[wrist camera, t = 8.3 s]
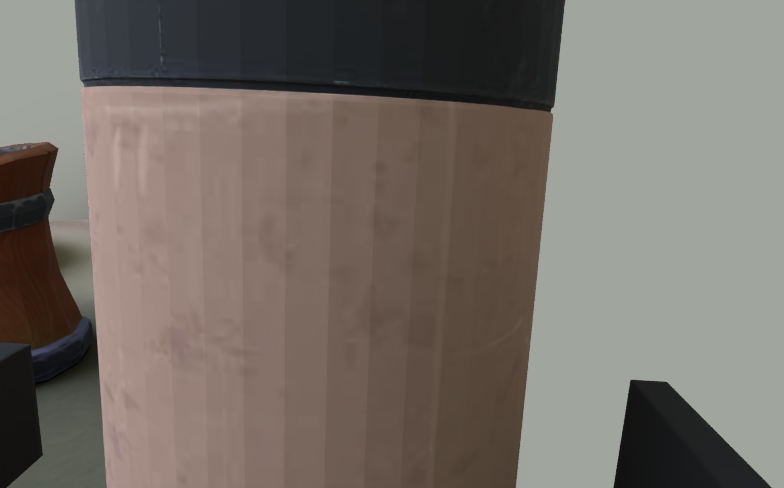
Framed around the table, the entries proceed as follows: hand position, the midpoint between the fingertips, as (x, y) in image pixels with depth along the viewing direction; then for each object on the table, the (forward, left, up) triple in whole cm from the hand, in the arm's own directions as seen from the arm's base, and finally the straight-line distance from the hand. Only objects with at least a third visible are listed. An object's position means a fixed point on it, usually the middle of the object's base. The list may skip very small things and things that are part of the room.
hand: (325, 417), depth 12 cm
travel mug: (-1, +1, -11) cm, 11 cm away
